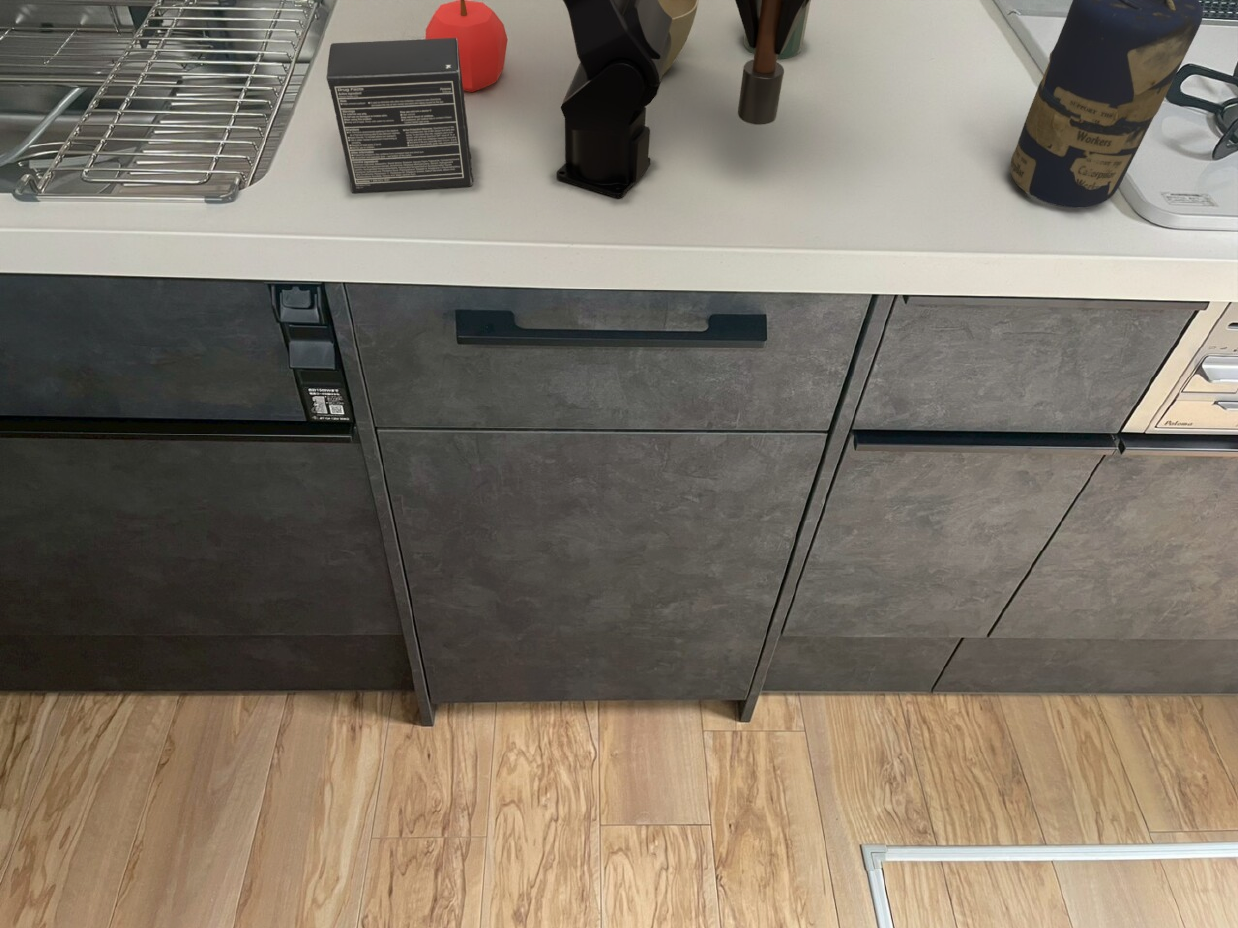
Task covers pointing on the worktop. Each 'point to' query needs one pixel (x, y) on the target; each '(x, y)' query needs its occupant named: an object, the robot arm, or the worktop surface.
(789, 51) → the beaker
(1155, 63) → the canister
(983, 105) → the worktop surface
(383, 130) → the small box
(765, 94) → the brown grey stepped cylinder
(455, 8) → the apple
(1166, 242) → the worktop surface
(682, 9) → the flower pot
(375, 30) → the worktop surface
